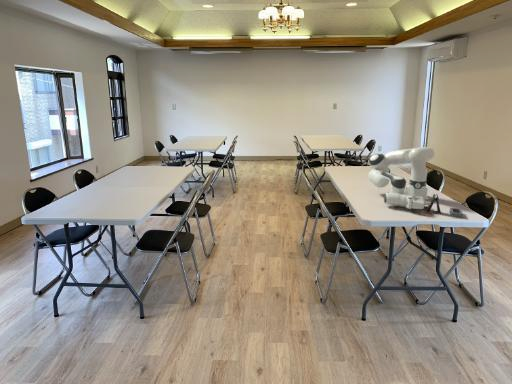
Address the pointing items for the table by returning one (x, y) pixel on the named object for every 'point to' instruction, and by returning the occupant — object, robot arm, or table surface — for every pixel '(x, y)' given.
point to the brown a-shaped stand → (432, 204)
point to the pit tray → (456, 213)
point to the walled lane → (426, 212)
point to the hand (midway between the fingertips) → (430, 203)
